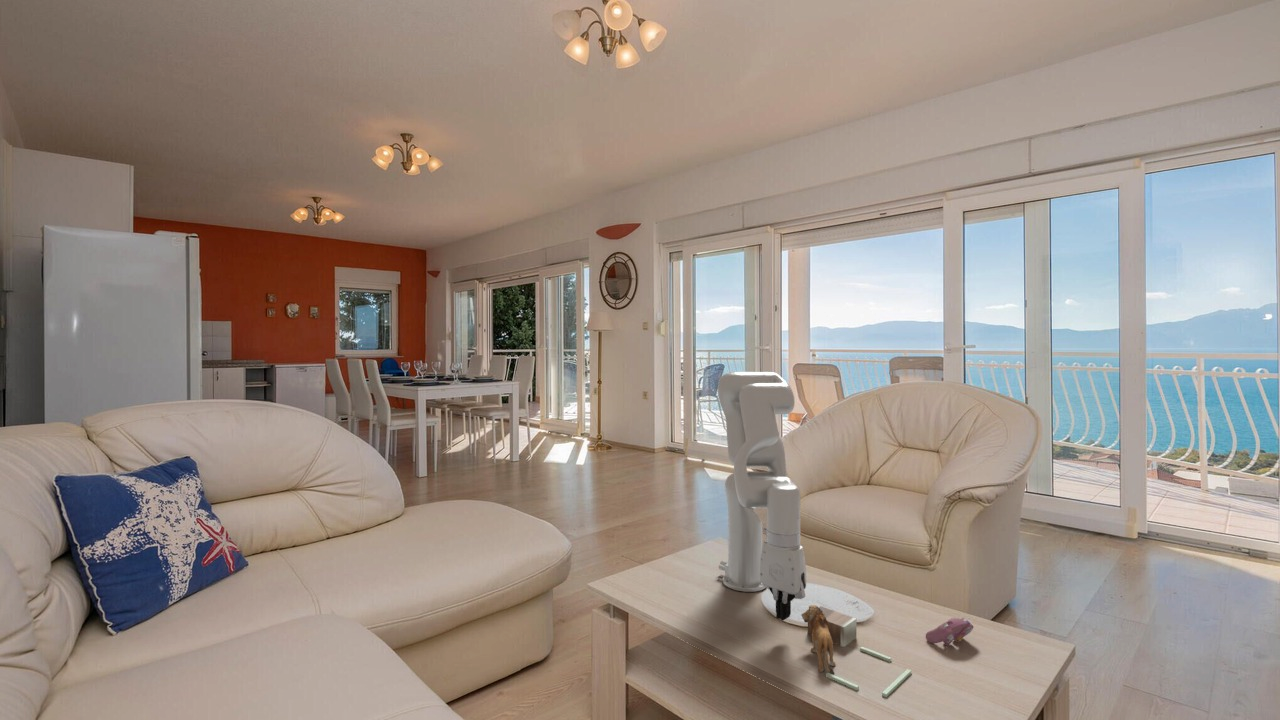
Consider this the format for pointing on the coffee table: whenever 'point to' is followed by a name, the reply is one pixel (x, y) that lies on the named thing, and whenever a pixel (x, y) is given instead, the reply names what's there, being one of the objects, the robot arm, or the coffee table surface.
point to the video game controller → (950, 631)
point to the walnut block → (839, 627)
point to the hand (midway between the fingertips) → (783, 617)
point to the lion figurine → (820, 635)
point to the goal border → (901, 677)
